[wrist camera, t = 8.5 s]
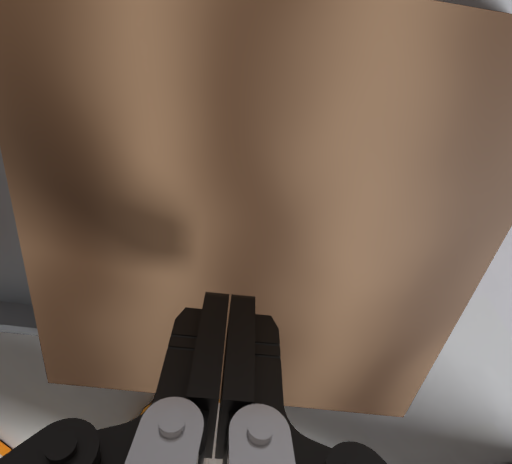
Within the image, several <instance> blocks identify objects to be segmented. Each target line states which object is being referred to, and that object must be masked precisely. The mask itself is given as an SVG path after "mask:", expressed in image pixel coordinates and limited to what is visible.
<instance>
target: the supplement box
mask: <svg viewBox="0 0 512 464" xmlns="http://www.w3.org/2000/svg"><path fill="white" fill-rule="evenodd" d="M10 451H11V449H10V448H9V447H7V446H6V445H5V444H4V443H2V442H1V441H0V458H1V457H3V456H4V455H5V454H7V453H8V452H10Z"/></svg>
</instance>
